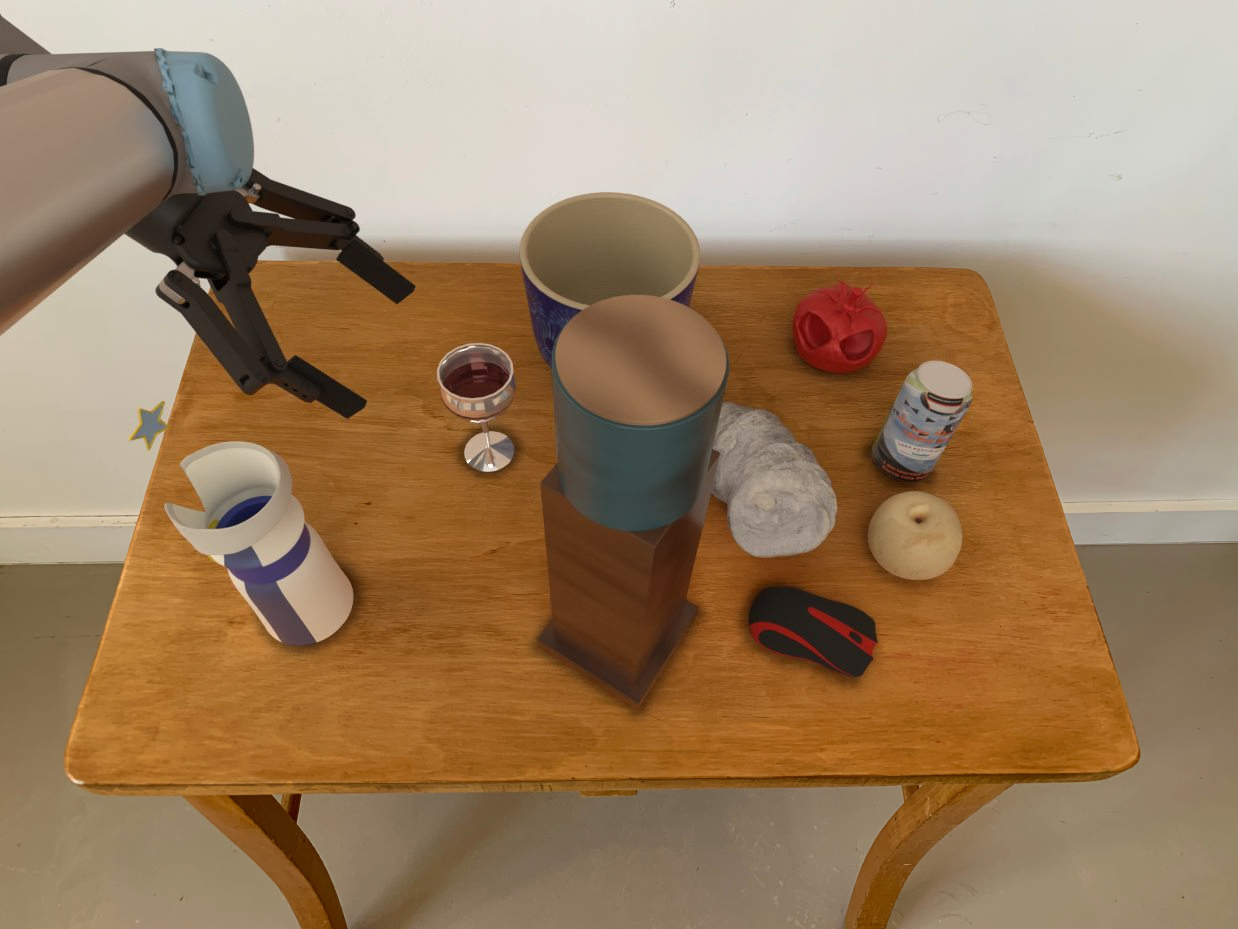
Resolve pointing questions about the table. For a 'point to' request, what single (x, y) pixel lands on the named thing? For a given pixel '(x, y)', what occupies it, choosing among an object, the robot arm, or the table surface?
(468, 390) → the wineglass
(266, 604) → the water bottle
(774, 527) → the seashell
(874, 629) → the computer mouse
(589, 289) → the planter
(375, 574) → the table surface
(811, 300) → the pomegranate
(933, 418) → the beverage can
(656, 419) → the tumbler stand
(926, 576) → the apple
